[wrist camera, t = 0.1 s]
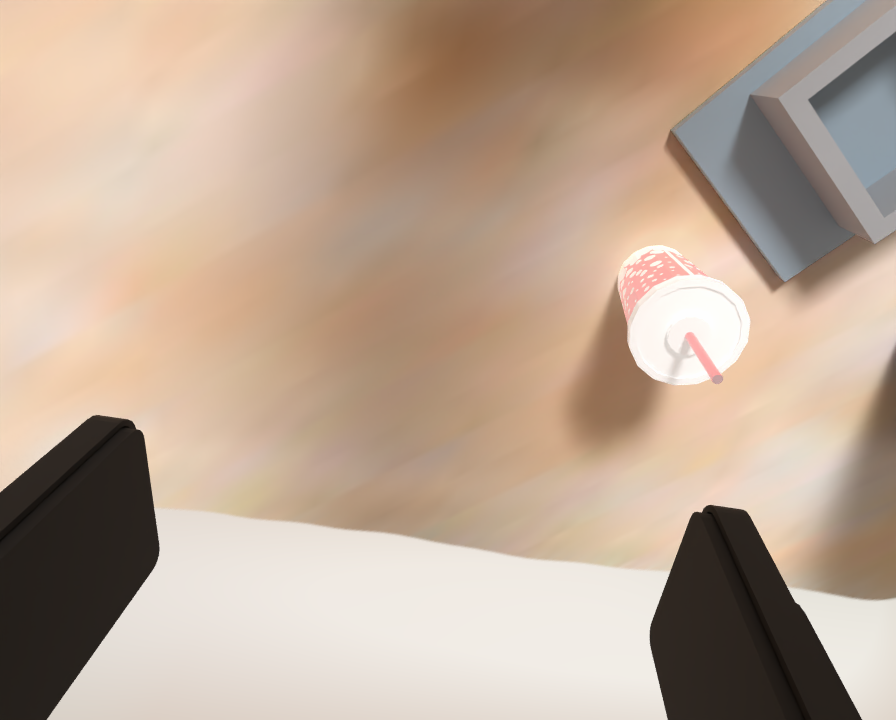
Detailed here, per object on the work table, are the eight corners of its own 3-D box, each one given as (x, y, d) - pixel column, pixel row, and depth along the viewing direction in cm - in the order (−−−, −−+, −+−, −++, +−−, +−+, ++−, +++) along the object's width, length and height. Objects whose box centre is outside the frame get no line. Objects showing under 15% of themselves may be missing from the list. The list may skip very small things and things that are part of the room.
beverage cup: (597, 317, 41) (634, 428, 29) (615, 228, 38) (665, 308, 26) (687, 327, 41) (765, 444, 28) (713, 238, 38) (811, 324, 26)
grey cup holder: (993, -138, 29) (1080, -175, 25) (1091, 65, 32) (1184, 65, 28) (670, 129, 36) (692, 139, 31) (778, 277, 39) (812, 305, 34)
